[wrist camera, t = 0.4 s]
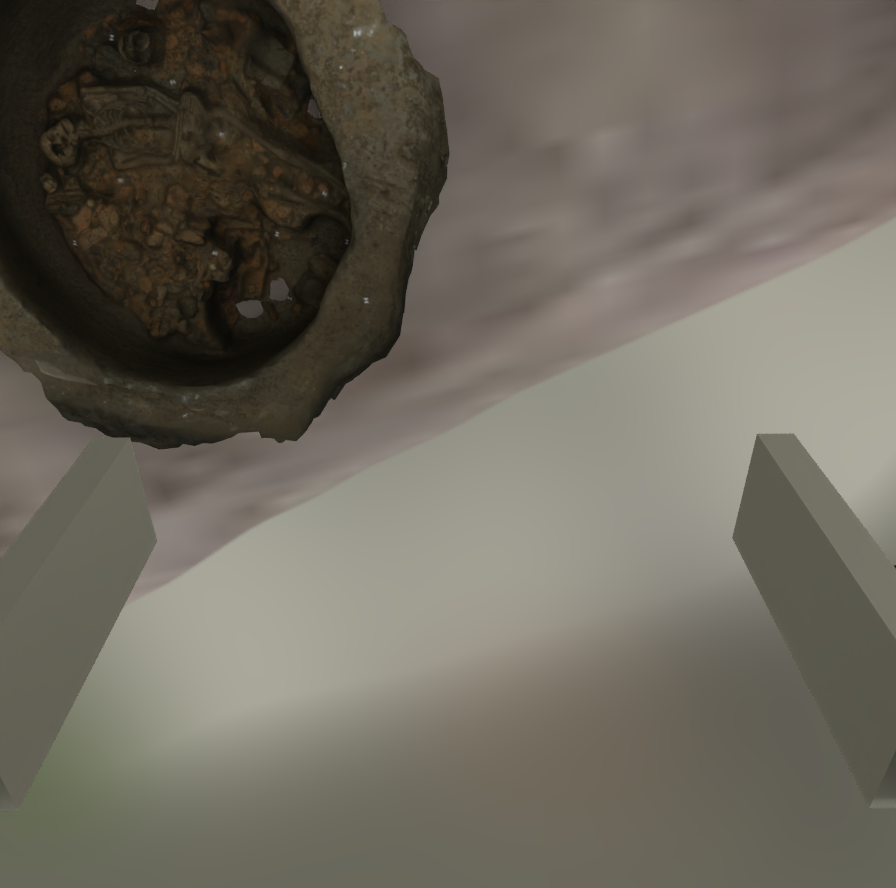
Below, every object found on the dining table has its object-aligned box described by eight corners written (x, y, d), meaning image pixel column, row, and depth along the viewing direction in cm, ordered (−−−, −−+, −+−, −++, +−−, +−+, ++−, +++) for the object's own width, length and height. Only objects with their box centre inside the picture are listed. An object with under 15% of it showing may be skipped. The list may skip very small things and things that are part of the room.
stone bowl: (405, 410, 46) (381, 499, 38) (-8, 320, 45) (-119, 391, 37) (502, -72, 33) (498, -88, 26) (-71, -212, 33) (-260, -274, 25)
